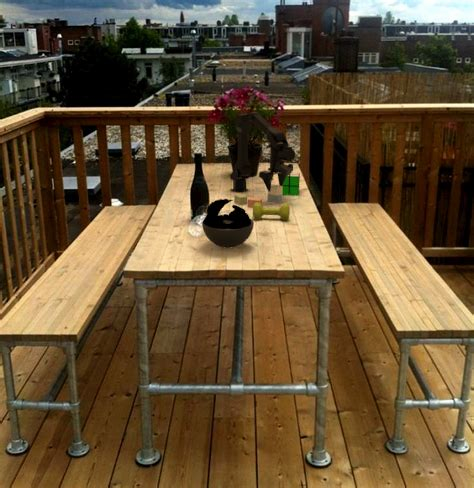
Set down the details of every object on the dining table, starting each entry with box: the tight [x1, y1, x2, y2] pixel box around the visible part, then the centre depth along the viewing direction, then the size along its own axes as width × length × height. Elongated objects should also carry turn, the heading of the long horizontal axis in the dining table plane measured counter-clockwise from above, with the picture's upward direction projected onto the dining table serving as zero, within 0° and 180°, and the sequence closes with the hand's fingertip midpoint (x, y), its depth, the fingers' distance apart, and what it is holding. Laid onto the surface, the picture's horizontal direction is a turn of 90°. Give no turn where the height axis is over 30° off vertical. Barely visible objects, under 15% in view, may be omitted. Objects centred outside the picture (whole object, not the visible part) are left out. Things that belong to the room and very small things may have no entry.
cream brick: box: [267, 183, 283, 196], centre depth 308 cm, size 6×4×4 cm, turn 49°
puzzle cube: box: [282, 171, 301, 196], centre depth 324 cm, size 10×10×10 cm
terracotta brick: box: [247, 197, 263, 209], centre depth 300 cm, size 6×4×4 cm, turn 71°
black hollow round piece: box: [201, 198, 255, 249], centre depth 245 cm, size 20×20×19 cm
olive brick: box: [233, 193, 248, 206], centre depth 306 cm, size 6×4×4 cm, turn 26°
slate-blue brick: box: [267, 193, 283, 204], centre depth 310 cm, size 6×4×4 cm, turn 55°
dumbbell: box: [252, 203, 291, 221], centre depth 282 cm, size 16×8×7 cm, turn 85°
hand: (275, 189), depth 308 cm, fingers open, 9 cm apart
